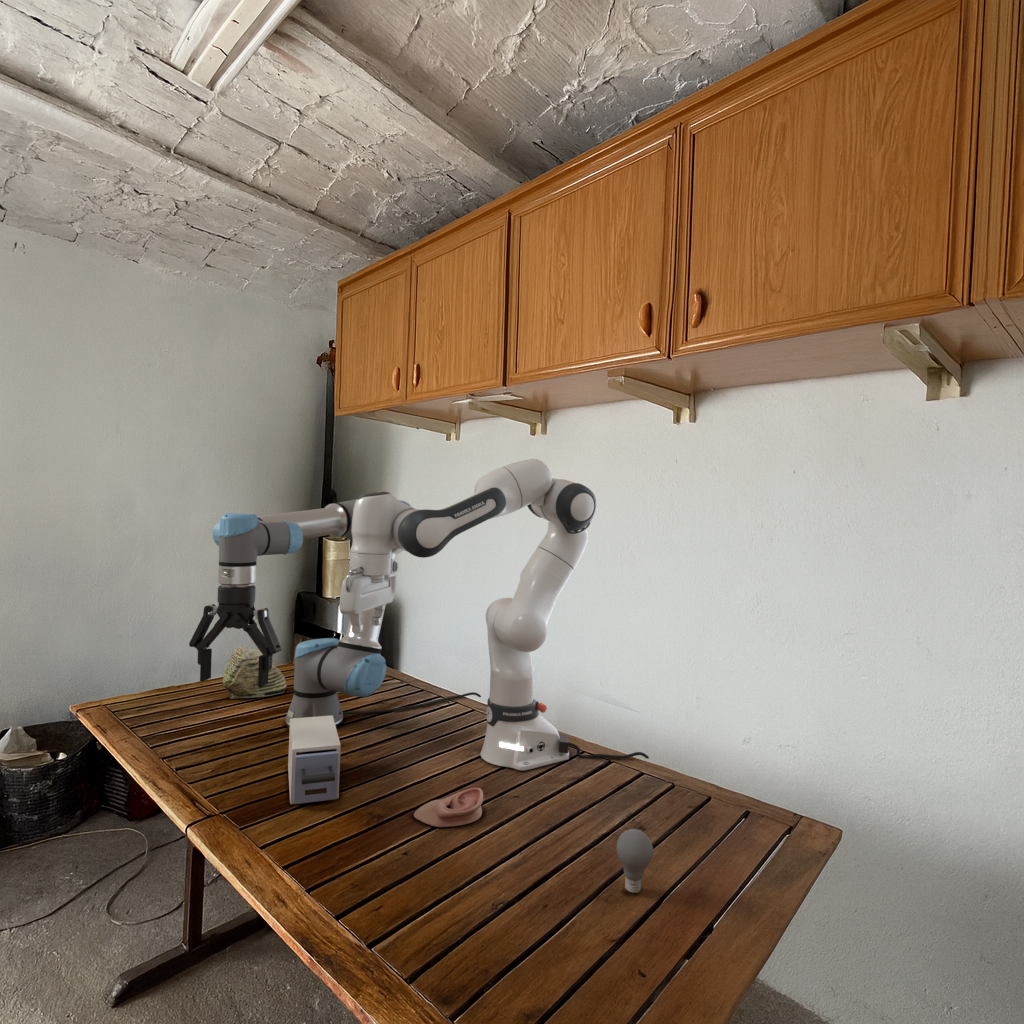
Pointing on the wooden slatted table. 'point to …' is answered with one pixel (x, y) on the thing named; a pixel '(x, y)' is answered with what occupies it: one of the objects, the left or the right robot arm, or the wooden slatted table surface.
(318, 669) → the left robot arm
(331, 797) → the drawer
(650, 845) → the light bulb
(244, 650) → the fossil
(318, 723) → the cabinet
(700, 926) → the wooden slatted table surface
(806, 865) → the wooden slatted table surface
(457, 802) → the anatomical model
